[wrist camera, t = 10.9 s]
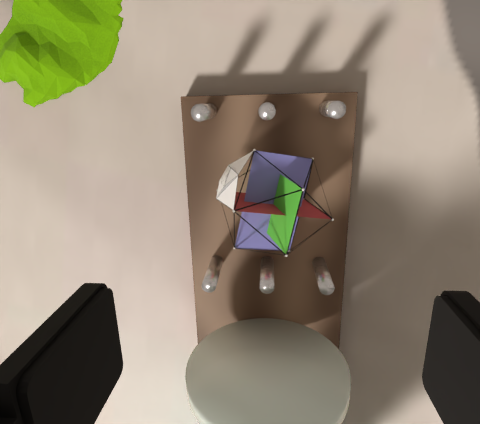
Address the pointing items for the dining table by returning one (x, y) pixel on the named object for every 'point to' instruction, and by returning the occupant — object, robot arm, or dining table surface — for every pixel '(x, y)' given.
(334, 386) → the sage plate
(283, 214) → the geometric puzzle
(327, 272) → the rack tines
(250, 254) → the dish rack
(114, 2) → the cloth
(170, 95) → the dining table surface
